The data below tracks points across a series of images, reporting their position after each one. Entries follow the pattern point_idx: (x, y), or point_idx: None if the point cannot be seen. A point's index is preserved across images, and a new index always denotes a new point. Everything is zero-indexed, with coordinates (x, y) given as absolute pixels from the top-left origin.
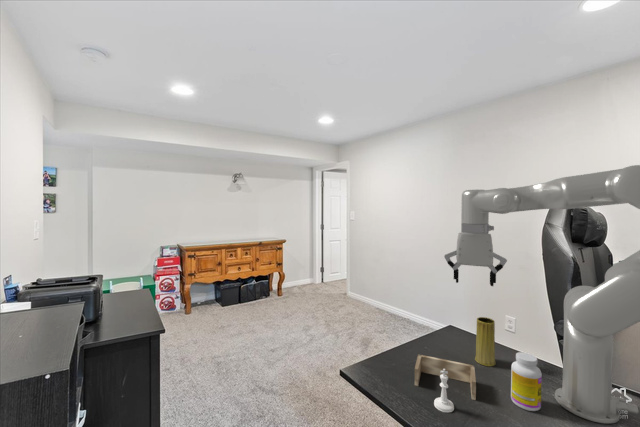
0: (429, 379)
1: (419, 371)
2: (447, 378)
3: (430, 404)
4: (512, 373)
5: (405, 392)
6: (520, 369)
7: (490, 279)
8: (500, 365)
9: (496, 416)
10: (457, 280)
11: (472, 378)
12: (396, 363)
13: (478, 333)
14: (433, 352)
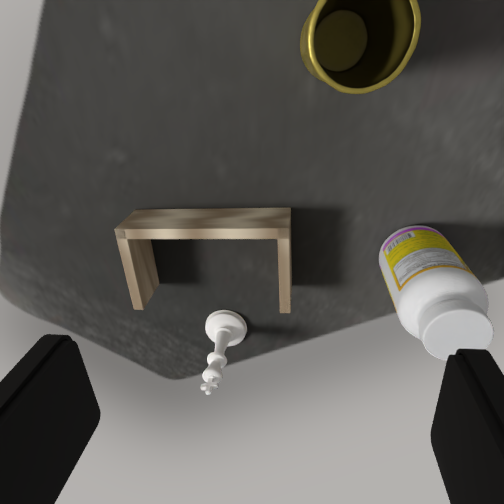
0: (176, 244)
1: (145, 267)
2: (220, 381)
3: (200, 331)
4: (394, 305)
5: (142, 313)
6: (418, 337)
7: (460, 481)
8: None
9: (331, 320)
10: (81, 442)
11: (282, 299)
12: (70, 203)
13: (313, 68)
14: (145, 62)
